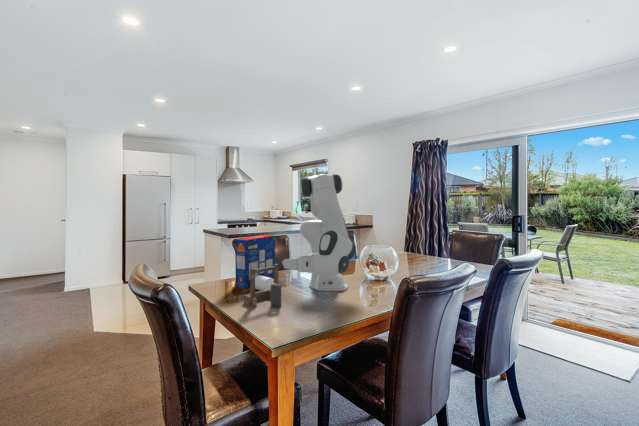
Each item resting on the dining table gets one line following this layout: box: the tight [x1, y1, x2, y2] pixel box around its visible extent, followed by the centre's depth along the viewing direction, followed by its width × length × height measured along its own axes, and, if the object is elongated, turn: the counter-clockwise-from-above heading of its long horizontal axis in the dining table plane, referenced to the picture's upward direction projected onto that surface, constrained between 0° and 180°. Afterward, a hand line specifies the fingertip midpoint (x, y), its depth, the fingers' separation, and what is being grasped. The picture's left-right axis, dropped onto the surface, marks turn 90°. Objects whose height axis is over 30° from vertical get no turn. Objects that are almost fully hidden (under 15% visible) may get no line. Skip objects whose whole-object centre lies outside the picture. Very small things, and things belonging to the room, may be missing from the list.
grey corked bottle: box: [270, 283, 282, 309], centre depth 152 cm, size 5×5×11 cm
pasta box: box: [234, 234, 276, 290], centre depth 194 cm, size 28×8×28 cm, turn 153°
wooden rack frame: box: [243, 263, 279, 308], centre depth 158 cm, size 8×16×18 cm, turn 136°
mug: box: [255, 275, 274, 291], centre depth 179 cm, size 12×10×8 cm
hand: (290, 261), depth 146 cm, fingers open, 8 cm apart
